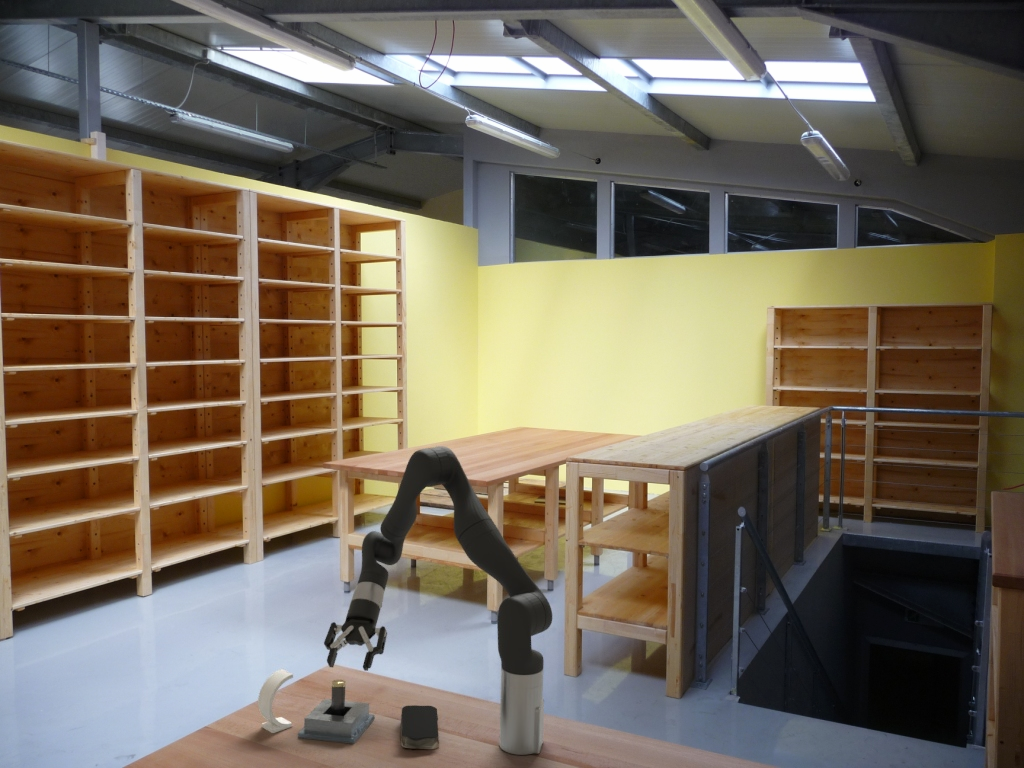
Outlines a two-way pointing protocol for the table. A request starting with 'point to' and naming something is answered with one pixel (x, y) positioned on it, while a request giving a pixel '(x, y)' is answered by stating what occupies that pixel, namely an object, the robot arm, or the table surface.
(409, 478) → the robot arm
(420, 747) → the black sponge
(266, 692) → the headphone stand
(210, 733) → the table surface
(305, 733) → the square hole socket
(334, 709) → the brass pin
